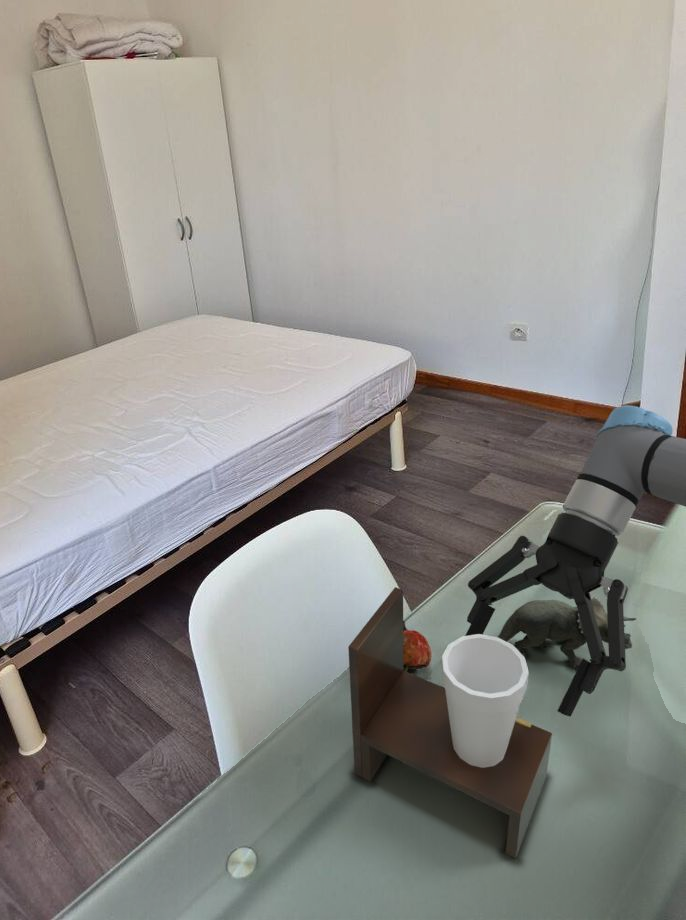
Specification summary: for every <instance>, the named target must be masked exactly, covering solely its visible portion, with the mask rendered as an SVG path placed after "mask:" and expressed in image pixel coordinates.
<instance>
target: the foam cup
mask: <svg viewBox="0 0 686 920" xmlns="http://www.w3.org/2000/svg"><path fill="white" fill-rule="evenodd" d="M514 645H515V644H511V643H510V642H509V641H507V642H506V641H504V640H502V639H500V638H498V636H493V635H487V634H483V635H482V634H475V635H469V636H465V635H463V636H460V637H458V638H457V639H455V640H453V641H451V642H449V643H448V644H447V647H446V648H445V650H444V652H443V654H442V655H441V670H440V671H441V681H442V687H444V688H445V691H446V698H447V705H448V713H449V720H450V727H451V734H452V741H453V747H454V750H455V751H456V753H457V754H458V756H459V757H460V758H461V759H462V760H464V761H465V762H467V763H468V764H470V765H473V766H477V767H481V768H485V767H490V766H495V765H496V764H498V763H499V762H500V761H502V760H503V758H504V755H505V753H506V749H507V747H508V744H509V740H510V737H511V734H512V730H513V727H514V723H515V720H516V717H517V718H518V713H519V710H520V707H521V703H522V702H523V699H524V697H525V694H526V692H527V690H528V684H529V672H530V671H529V668H528V665H527V660H526V657H525V655H524V656H523V655H522V654H521V653H520V652H519V651H518V650H517V649H516V648H515V646H514Z"/></svg>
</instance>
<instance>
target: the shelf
mask: <svg viewBox="0 0 686 920" xmlns="http://www.w3.org/2000/svg"><path fill="white" fill-rule="evenodd" d="M403 621H404V589H401V588H399V587H395V586H394V588H393V589H392V590H391V592H390V593H389V594H388V595H387V597H386V598H385V599H384V600H383V602H382V603H381V604H380V605H379V607H378V608H377V609H376V611H375V612H374V613H373V614H372V616H371V617H370V618H369V620H368V621H367V622H366V623H365V624H364V626H363V627H362V628H361V630H359V632H358V633H357V635H356V636H355V637H354V639H353V640H352V641H351V643H350V644H349V645H348V666H349V667H348V669H349V689H350V707H351V708H350V709H351V729H352V750H353V769H354V770H353V771H354V775H356V776H358V777H360V778H362V779H364V780H365V781H367V782H369V783H371V782H372V781H373V779H374V777H375V776H376V774H377V772H378V771H379V769H380V768H381V766H382V764H383V762H384V761H385V759H386V758H387V756H389V757H391V758H392V759H395V760H397V761H399V762H401V763H403V764H405V765H407V766H409V767H411V768H412V769H413V768H414V769H415V770H417V771H419V772H421V773H423V774H424V775H427V776H429V777H431V778H433V779H435V780H437V781H439V782H441V783H443V784H446V785H447V786H449V787H451V788H454V789H456V790H458V791H460V792H462V793H464V794H465V795H467V796H469V797H471V798H474V799H475V800H478V801H480V802H481V803H483V804H486V805H488V806H489V807H492V808H494V809H495V810H497V811H500V812H502V813H503V814H505V815H508V817H509V818H508V826H507V827H508V828H507V835H506V836H507V837H506V846H505V854H506V855H507V856H510V857H512V858H513V859H515V860H516V859H517V857H518V854H519V851H520V848H521V846H522V843H523V840H524V838H525V835H526V833H527V830H528V827H529V825H530V823H531V819H532V816H533V815H534V811H535V808H536V806H537V803H538V800H539V797H540V796H541V793H542V790H543V787H544V784H545V781H546V779H547V776H548V767H549V761H550V753H551V744H552V737H553V732H551V731H548V730H546V729H543V728H542V727H539V726H536V725H534V724H532V723H531V722H529V721H526V720H524V719H521V718H519V717H518V716H517V717H516V720H515V723H514V727H513V730H512V734H511V737H510V740H509V744H508V747H507V749H506V753H505V755H504V758H503V760H502V761H500V762H499V763H498V764H496V765H495V766H490V767H485V768H481V767H477V766H473V765H470V764H468V763H467V762H465V761H464V760H462V759H461V758H460V757H459V756H458V754H457V753H456V751H455V750H454V747H453V741H452V734H451V727H450V720H449V713H448V705H447V698H446V691H445V688H444V687H443V686H442V685H439V684H436V683H434V682H432V681H430V680H427V679H425V678H422V677H420V676H418V675H415V674H413V673H410V672H408V671H407V672H406V671H405V670H404V668H403Z"/></svg>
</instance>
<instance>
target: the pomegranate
mask: <svg viewBox="0 0 686 920" xmlns="http://www.w3.org/2000/svg"><path fill="white" fill-rule="evenodd" d="M431 661H432V649H431V646H430V644H429V642H428V640H427V638H426V637H425V636H424V635H423V634H422V633H420V632H419V631H417V630H414V629H413V630H411V629H410V630H409V629H407V627H406V622H405V620H403V670H404V671H406V672H408V670H421V669H423V668H427V667H429V666H430V663H431Z"/></svg>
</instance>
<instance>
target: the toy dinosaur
mask: <svg viewBox="0 0 686 920" xmlns="http://www.w3.org/2000/svg"><path fill="white" fill-rule="evenodd" d="M591 600H592V603H593V610H594V614H595V617H596V621H597V625H598V628H599V632H600V635H601V639H602V642H604V643H606V644H608V620H607V611H606V609H605V608H604V604H602V602H601V600H599V599H598V598H596V597H595V596H593V598H592V597H591ZM636 620H637V618H636V617H629V616H624V622H632V621H633V622H634V621H636ZM625 627H626V624H624V628H625ZM520 632H522V633H523V634H525V636H524V637H523V638H522V639H520V640H519V639H518V640H516V641H515V642H514V644H513V645H514V646H515V648H516V649H517V650H518V651H519V652H520V653H521V654H522V655H523V656H524V657H525V656H526V653H525V651H524V650H525V649H526V648H533V647H535V648H541V649H543V648H544V647H547V646H549V643H548V642H546V640H549V641H551V642H557V643H562V645H560V647H559V650H560V652H561V653H562V654H564V656H565V657H566V658H567V659H568V663H569V667H570V668H571V667H572V668H573V669H578V667H579V665H580V663H581V661H582V659H583V658H580V657H577V655H576V654H575V651H574V650H577V649H579V648H580V647H582V646H584V645H587V642H586V638H585V635H584V631H583V627H582V623H581V620H580V616H579V612H578V608H577V606H573V605H570V604H568V603H566V602H564V601H561V600H558V599H557V600H556V599H545V600H544V599H543V600H542V599H534V600H531V601H528V602H525V603H524V604H523V605H521V606H520V607H518V608H516V609H515V611H514V612H513V613H511V615H510V616H509V617H508V619H507V620H506V621H505V623H504V624H503V626H502V629H501V631H500V632H499V634H498V635H497V637H498V638H500V639H502V640H504V641H506V642H509V641H510V640H511V639H512V638H514V637H515V636H516V635H517V634H519V633H520ZM624 636H625V650H630V649H632V648H633V643H632V640H631V637H632V635H631V633H630V632H629V633H628V632H624Z"/></svg>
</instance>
